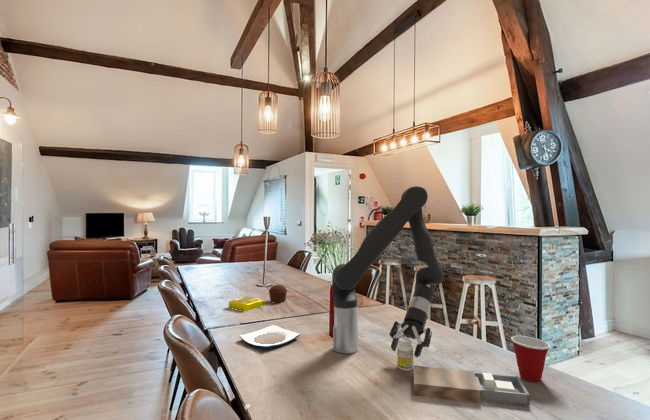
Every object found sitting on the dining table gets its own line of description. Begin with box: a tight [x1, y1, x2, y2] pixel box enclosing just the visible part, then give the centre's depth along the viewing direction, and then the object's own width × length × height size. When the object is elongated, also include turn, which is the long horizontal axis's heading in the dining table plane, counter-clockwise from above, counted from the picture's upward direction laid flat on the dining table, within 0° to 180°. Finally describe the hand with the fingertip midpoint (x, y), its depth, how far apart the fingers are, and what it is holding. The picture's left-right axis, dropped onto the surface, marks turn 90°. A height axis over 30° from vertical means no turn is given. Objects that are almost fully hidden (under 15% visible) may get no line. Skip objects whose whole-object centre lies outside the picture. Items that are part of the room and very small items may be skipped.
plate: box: [239, 324, 301, 350], centre depth 146 cm, size 20×20×3 cm
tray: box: [474, 372, 531, 407], centre depth 100 cm, size 12×11×3 cm
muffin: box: [268, 284, 288, 304], centre depth 211 cm, size 12×11×10 cm
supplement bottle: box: [396, 337, 414, 372], centre depth 118 cm, size 5×5×10 cm
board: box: [413, 365, 482, 404], centre depth 103 cm, size 18×12×4 cm, turn 75°
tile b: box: [494, 380, 515, 392], centre depth 99 cm, size 4×4×2 cm
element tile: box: [228, 296, 264, 312], centre depth 200 cm, size 15×15×5 cm
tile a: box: [481, 372, 495, 390], centre depth 100 cm, size 4×4×2 cm
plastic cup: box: [510, 335, 551, 383], centre depth 109 cm, size 11×11×12 cm
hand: (404, 353), depth 117 cm, fingers open, 8 cm apart
